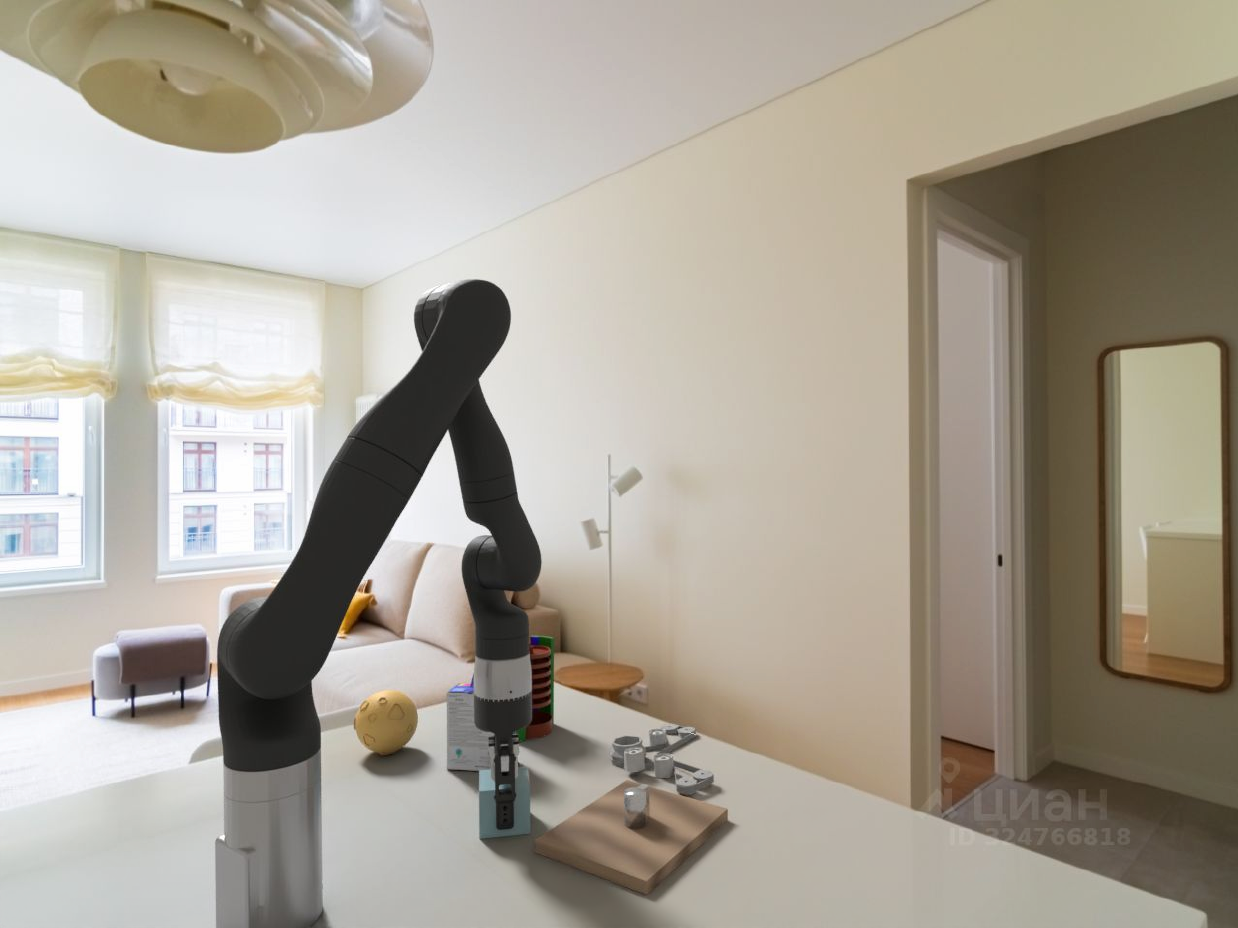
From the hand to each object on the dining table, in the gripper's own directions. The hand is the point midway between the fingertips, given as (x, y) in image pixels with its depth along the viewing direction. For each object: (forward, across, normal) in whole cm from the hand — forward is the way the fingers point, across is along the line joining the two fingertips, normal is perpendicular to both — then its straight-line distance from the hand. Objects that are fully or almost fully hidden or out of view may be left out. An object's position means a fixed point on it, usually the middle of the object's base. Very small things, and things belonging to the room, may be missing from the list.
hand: (504, 814), depth 96 cm
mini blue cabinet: (+1, 0, 0) cm, 1 cm away
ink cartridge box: (+1, +20, +3) cm, 20 cm away
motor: (+1, +33, -5) cm, 34 cm away
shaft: (0, -6, -17) cm, 18 cm away
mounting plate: (+1, -6, -16) cm, 17 cm away
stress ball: (+1, +28, +18) cm, 34 cm away
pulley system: (+2, +16, -24) cm, 29 cm away
